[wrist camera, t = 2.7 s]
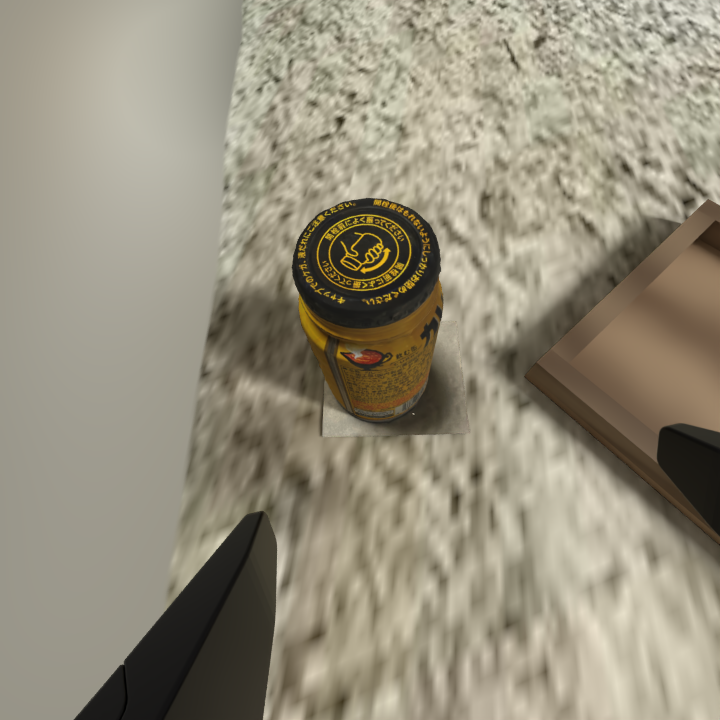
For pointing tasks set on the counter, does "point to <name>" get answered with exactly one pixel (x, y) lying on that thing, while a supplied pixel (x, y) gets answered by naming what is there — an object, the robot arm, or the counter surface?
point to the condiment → (379, 322)
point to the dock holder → (648, 354)
